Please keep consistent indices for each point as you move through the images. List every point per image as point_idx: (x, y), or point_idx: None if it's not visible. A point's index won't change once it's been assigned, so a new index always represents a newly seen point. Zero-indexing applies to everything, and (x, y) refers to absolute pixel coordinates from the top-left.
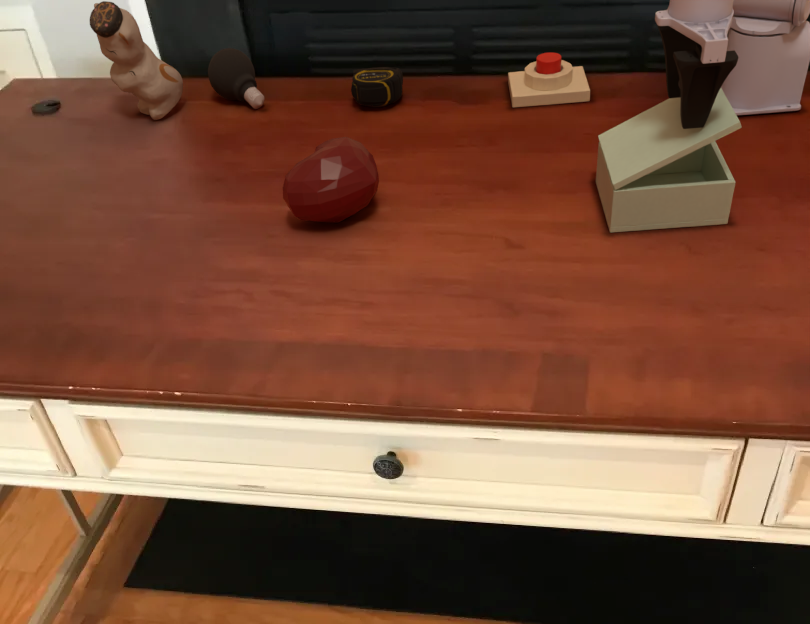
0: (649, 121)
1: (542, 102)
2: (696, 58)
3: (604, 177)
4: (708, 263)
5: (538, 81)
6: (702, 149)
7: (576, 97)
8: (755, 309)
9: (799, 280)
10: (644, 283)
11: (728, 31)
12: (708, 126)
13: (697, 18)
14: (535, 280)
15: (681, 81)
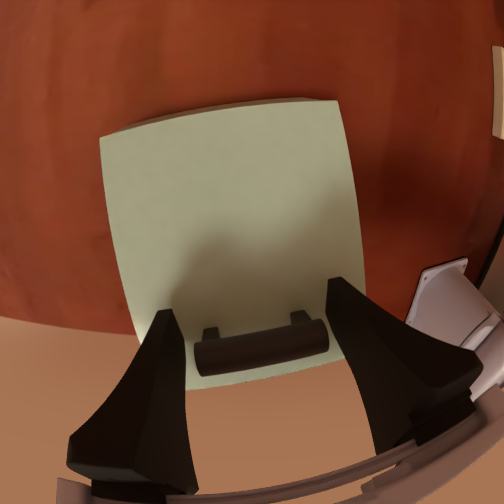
0: (304, 218)
1: (496, 80)
2: (99, 479)
3: (221, 108)
4: (78, 258)
5: None
6: None
7: (497, 120)
8: (25, 294)
9: (79, 328)
10: (22, 190)
11: None
12: None
13: None
14: (13, 55)
15: (113, 404)
